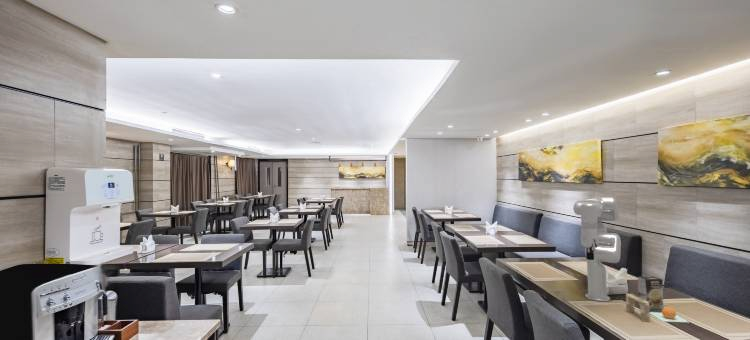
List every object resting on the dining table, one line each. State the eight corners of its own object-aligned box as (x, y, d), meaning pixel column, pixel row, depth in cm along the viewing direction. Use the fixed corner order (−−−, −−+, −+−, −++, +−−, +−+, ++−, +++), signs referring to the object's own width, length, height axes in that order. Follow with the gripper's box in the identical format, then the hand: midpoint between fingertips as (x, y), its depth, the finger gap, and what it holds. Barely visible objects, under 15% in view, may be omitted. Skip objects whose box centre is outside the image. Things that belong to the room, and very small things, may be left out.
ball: (673, 314, 178) (663, 318, 179) (667, 304, 179) (657, 308, 180) (680, 317, 173) (669, 322, 174) (674, 307, 174) (663, 311, 175)
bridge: (643, 321, 173) (642, 302, 173) (626, 310, 187) (625, 293, 188) (649, 321, 173) (649, 303, 173) (632, 311, 187) (632, 293, 187)
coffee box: (647, 309, 189) (646, 279, 190) (638, 305, 196) (637, 276, 196) (664, 308, 190) (662, 279, 190) (654, 304, 196) (653, 276, 197)
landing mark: (647, 312, 185) (647, 312, 185) (672, 313, 183) (672, 313, 183) (662, 321, 173) (662, 321, 173) (689, 322, 171) (689, 322, 171)
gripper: (576, 224, 199) (577, 256, 198) (588, 227, 184) (589, 262, 184) (590, 224, 198) (591, 256, 197) (603, 227, 183) (604, 262, 183)
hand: (590, 259), depth 191 cm, fingers closed
